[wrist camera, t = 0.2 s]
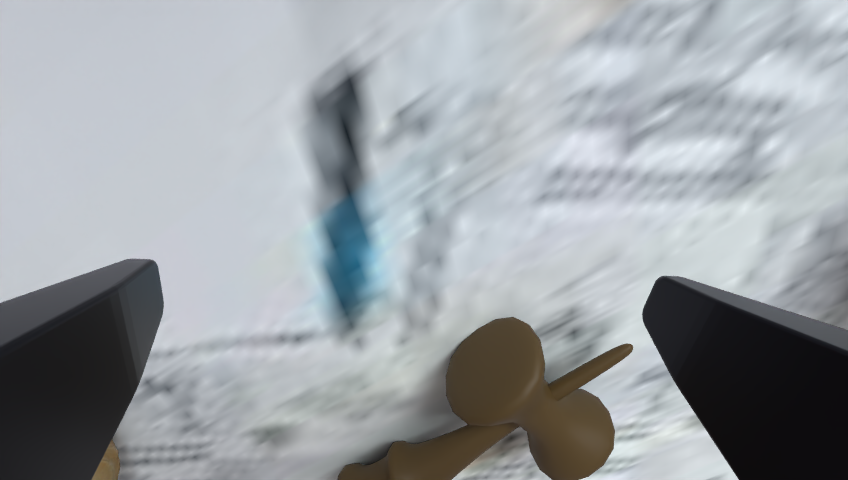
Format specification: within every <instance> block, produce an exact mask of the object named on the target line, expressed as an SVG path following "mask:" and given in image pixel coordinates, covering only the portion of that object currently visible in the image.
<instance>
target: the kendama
mask: <svg viewBox="0 0 848 480" xmlns="http://www.w3.org/2000/svg"><path fill="white" fill-rule="evenodd" d="M632 350H633V346H632V345H631V344H623V345H620V346H618V347H616V348H613V349H611V350H609V351H607V352H605V353H603V354H602V355H600V356H598V357H596V358H594V359H592V360H591V361H589V362H587V363H585V364H583V365H582V366H580V367H578V368H576V369H574V370H573V371H571V372H569V373H567V374H566V375H564V376H562V377H560V378H558V379H557V380H555V381H553V382H551V383H548V382H546V381H545V380H544V372H545V360H544V355H543V351H542V346H541V342H540V339H539V338H538V336H537V335H536V334H535V332H534V331H533V329H532V328H531V326H530V325H528V324H527V323H525V322H523V321H521V320H518V319H516V318H514V317H510V318H502V319H495V320H493V321H492V322H490V323H488V324H486V325H484V326H482V327H481V328H479V329H477V330H476V331H475V332H474V333H472V334H471V335H470V336H469V337H468V338H466V339H465V340H464V341H463V342H462V343H461V345H460V346H459V347H458V349H457V350H456V352H455V353H454V354H453V356H452V357H451V360H450V363H449V367H448V370H447V374H446V396H447V398H448V401H449V403H450V406H451V408H452V411H453V412H454V413H455V414H456V415H457V416H458V417H460V418H461V419H462V420H463V421H464V422H466V423H467V424H468V425H466V426H464V427H462V428H459V429H457V430H454V431H452V432H450V433H447V434H444V435H442V436H439V437H437V438H434V439H431V440H428V441H425V442H422V443H418V444H410V443H408V442H405V441H397V442H394V443H393V444H392V445H391V447H390V449H389V451H388V454H387V455H386V456H385V457H384V458H382V459H381V460H379V461H377V462H375V463H373V464H370V465H363V464H360V463H354V464H350V465H346V466H345V467H344V468H343V469H342V471H341V472H340V474H339V476H338V480H452V479H453V478H454V477H455V476H456V475H457V474H458V473H460V472H461V471H462V470H463V469H464V468H466V467H467V466H468V465H469V464H470V463H471V462H473V461H474V460H475V459H476V458H478V457H479V456H480V455H481V454H483V453H484V452H485V451H486V450H488V449H489V448H490V447H492V446H493V445H494V444H496V443H497V442H498V441H500V440H501V439H502V438H504V437H505V436H506V435H508V434H509V433H511V432H512V431H514V430H515V429H516V428H518V427H519V426H520V427H522V428H523V429H524V430H525V431H527V435H528V441H529V447H530V452H531V454H532V456H533V458H534V460H535V462H536V463H537V465H538V467H539V469H540V470H541V471H542V472H543V473H545V474H546V475H547V476H548V477H550V478H551V479H552V480H579V479H583V478H586V477H589V476H590V475H591V474H593V473H594V472H595V471H596V470H598V469H599V468H600V467H602V466H603V465H604V464H605V462H606V460H607V459H608V457H609V455H610V454H611V452H612V450H613V448H614V436H615V429H614V426H613V423H612V419H611V416H610V413H609V411H608V410H607V409H606V407H605V406H604V405H603V403H602V402H601V401H600V399H599V398H598V397H596V396H594V395H593V394H591V393H589V392H587V391H585V390H583V389H578V388H580V387H581V386H583V385H585V384H586V383H588V382H589V381H591V380H592V379H594V378H596V377H597V376H599V375H600V374H602V373H603V372H605V371H607V370H608V369H610V368H611V367H613V366H614V365H616V364H617V363H618V362H620V361H621V360H623V359H624V358H625V357H627V356H628V355H629V354H630V353H631V352H632Z"/></svg>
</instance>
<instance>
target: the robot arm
mask: <svg viewBox="0 0 848 480" xmlns="http://www.w3.org/2000/svg"><path fill="white" fill-rule="evenodd" d="M163 307H164V301H163V294H162V288H161V282H160V276H159V270H158V266H157V264H156V262H155V261H154V260H151V259H126V260H123V261H121V262H118V263H115V264H112V265H109V266H106V267H103V268H100V269H97V270H94V271H92V272H89V273H86V274H83V275H80V276H77V277H74V278H71V279H68V280H66V281H63V282H60V283H57V284H54V285H51V286H48V287H45V288H42V289H39V290H37V291H34V292H31V293H28V294H25V295H22V296H19V297H16V298H13V299H10V300H8V301H5V302H2V303H0V480H92V478H93V476H94V474H95V472H96V470H97V468H98V466H99V464H100V462H101V460H102V458H103V456H104V454H105V452H106V450H107V448H108V446H109V444H110V442H111V440H112V438H113V436H114V434H115V432H116V430H117V428H118V426H119V424H120V422H121V420H122V418H123V416H124V414H125V412H126V410H127V408H128V406H129V404H130V402H131V400H132V398H133V396H134V394H135V392H136V390H137V387H138V385H139V383H140V380H141V377H142V374H143V372H144V369H145V366H146V363H147V360H148V357H149V354H150V351H151V348H152V345H153V342H154V339H155V336H156V333H157V330H158V327H159V324H160V321H161V318H162V314H163ZM642 315H643V322H644V325H645V327H646V329H647V331H648V332H649V334H650V336H651V338H652V340H653V342H654V344H655V346H656V348H657V350H658V352H659V354H660V355H661V357H662V359H663V361H664V363H665V365H666V367H667V369H668V371H669V373H670V374H671V376H672V378H673V380H674V382H675V383H676V385H677V386H678V388H679V390H680V391H681V393H682V394H683V396H684V397H685V399H686V400H687V402H688V403H689V405H690V406H691V408H692V409H693V411H694V412H695V414H696V415H697V417H698V419H699V420H700V422H701V423H702V425H703V426H704V428H705V429H706V431H707V432H708V434H709V435H710V437H711V438H712V440H713V441H714V443H715V444H716V446H717V447H718V449H719V450H720V452H721V453H722V455H723V456H724V458H725V459H726V461H727V462H728V464H729V465H730V467H731V469H732V470H733V472H734V473H735V475H736V476H737V478H738V479H739V480H848V330H845V329H842V328H839V327H836V326H833V325H830V324H827V323H824V322H820V321H817V320H814V319H811V318H808V317H805V316H802V315H799V314H796V313H792V312H789V311H786V310H783V309H780V308H777V307H774V306H771V305H768V304H764V303H761V302H758V301H755V300H752V299H749V298H746V297H743V296H739V295H736V294H733V293H730V292H727V291H724V290H721V289H718V288H715V287H711V286H708V285H705V284H702V283H699V282H696V281H693V280H690V279H687V278H683V277H679V276H661V277H659V278H658V279H657V280H656V282H655V284H654V286H653V288H652V290H651V292H650V295H649V297H648V299H647V301H646V304H645V306H644V308H643V314H642Z"/></svg>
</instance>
